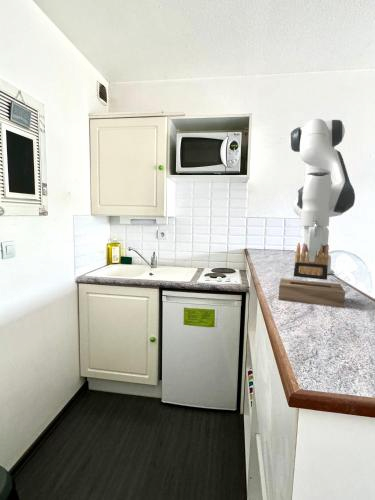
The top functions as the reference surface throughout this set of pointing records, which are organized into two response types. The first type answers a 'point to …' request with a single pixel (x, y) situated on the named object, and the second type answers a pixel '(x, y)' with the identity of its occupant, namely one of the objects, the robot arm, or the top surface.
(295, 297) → the slotted wooden block
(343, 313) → the top surface
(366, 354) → the top surface
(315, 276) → the ammunition clip
